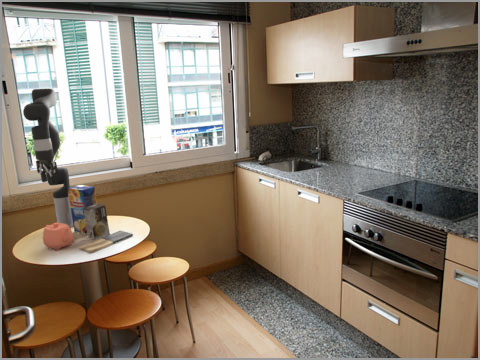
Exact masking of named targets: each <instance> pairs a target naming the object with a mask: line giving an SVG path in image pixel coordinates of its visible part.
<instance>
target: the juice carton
mask: <svg viewBox="0 0 480 360" xmlns="http://www.w3.org/2000/svg"><path fill="white" fill-rule="evenodd" d="M67 190H68V196H69V202H70V208H71V214H72V220H73V226H72V227H73V231H74V232H76V233H81V234H87V228H86V222H85V216H84V210H83V208H85V207H88V206H92V205H95V204H98V202H97V201H98V200H97V196H96V195H97V194H96V189H95V186H91V185H82V184H78V185H77V184H76V185H74V186H70V188H67ZM87 235H88V234H87Z"/></svg>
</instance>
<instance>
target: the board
mask: <svg viewBox="0 0 480 360" xmlns="http://www.w3.org/2000/svg"><path fill="white" fill-rule="evenodd" d="M133 236H134V235H133V233H132V232H128V231H123V230H118V231H115V232H113V233H110V234H109V235H106V236H103V237H101V238H98V239H96V240H93V241H89V242H88V243H85V244H82V245H80V246H78V249H79V250H82V251H85V252H87V253H89V254H92V253H96V252H98V251H100V250H102V249H104V248H107V247H110V246H113V245H114V244H117V243H119V242H121V241H123V240H126V239H128V238H130V237H133Z"/></svg>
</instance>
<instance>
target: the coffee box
mask: <svg viewBox="0 0 480 360" xmlns="http://www.w3.org/2000/svg"><path fill="white" fill-rule="evenodd" d="M83 210H84V216H85V222H86V228H87V238H88V239H90V240H93V241H95V240H97V239H100V238H102V237H105V236H108V235H110V234H111V233H110V229H109V221H108V220H109V219H108V215H107V208H106V205H105V204H102V203H101V202H100V203H98V202H97V204H95V205H92V206H88V207H85V208H83Z"/></svg>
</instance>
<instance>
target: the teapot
mask: <svg viewBox="0 0 480 360" xmlns="http://www.w3.org/2000/svg"><path fill="white" fill-rule="evenodd" d="M74 240H75V237H74V234H73V231H72V229H71V227H69V226H68V225H67V224H63V223H58V222H54V223H52V224H46V225H45V226H44V228H43V233H42V241H43V244H44V245H45V246H46V247H47V249H54V250H55V252H57V251H60V250H61V248H63V247H70V246H72V243H74Z"/></svg>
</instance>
